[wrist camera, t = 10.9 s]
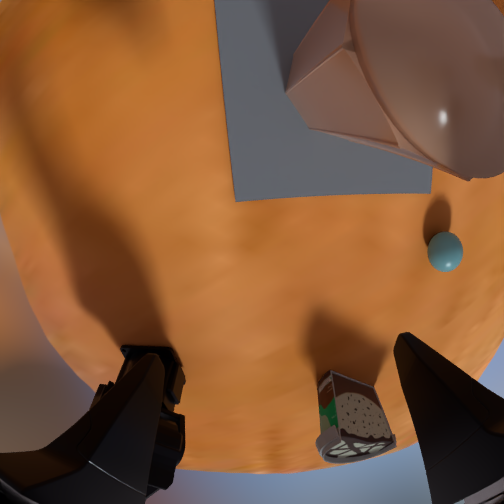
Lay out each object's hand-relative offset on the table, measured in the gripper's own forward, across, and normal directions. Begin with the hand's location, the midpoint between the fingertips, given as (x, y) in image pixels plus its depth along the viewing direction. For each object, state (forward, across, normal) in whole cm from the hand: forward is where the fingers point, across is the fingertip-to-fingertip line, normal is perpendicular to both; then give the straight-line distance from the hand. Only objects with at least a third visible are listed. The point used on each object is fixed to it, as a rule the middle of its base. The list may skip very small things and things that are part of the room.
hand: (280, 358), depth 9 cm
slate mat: (+13, -6, -10) cm, 17 cm away
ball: (+13, -16, +3) cm, 21 cm away
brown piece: (+12, -6, -10) cm, 17 cm away
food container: (+13, -8, +24) cm, 29 cm away
